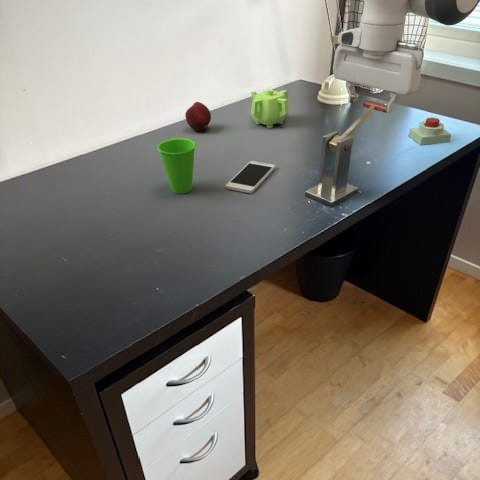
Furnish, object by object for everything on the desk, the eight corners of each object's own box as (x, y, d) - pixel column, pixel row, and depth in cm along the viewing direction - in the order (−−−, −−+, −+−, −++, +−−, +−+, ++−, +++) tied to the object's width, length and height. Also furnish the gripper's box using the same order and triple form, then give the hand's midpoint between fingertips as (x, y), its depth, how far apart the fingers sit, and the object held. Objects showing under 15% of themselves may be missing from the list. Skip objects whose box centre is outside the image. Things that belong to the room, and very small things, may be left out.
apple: (199, 123, 151) (197, 97, 145) (217, 129, 147) (215, 102, 141) (182, 130, 147) (179, 103, 141) (200, 136, 143) (198, 108, 137)
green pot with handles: (287, 116, 154) (288, 83, 147) (289, 129, 145) (290, 95, 139) (250, 116, 154) (250, 84, 148) (250, 130, 146) (250, 96, 139)
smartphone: (225, 188, 117) (225, 185, 116) (250, 163, 127) (250, 160, 126) (251, 193, 114) (251, 190, 114) (275, 168, 125) (275, 164, 124)
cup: (155, 190, 117) (148, 146, 110) (182, 177, 122) (178, 134, 115) (180, 201, 113) (174, 156, 105) (207, 187, 118) (203, 144, 110)
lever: (367, 105, 111) (366, 96, 110) (388, 111, 108) (388, 102, 106) (323, 149, 108) (321, 140, 106) (344, 156, 105) (343, 147, 103)
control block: (436, 132, 140) (439, 118, 137) (449, 141, 135) (453, 127, 132) (408, 136, 139) (411, 122, 136) (420, 145, 134) (423, 130, 131)
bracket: (331, 181, 118) (337, 125, 109) (357, 192, 114) (366, 134, 105) (305, 195, 113) (309, 137, 104) (331, 207, 109) (338, 147, 100)
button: (433, 123, 136) (435, 116, 135) (440, 127, 133) (442, 121, 132) (422, 124, 136) (423, 118, 134) (429, 129, 133) (430, 122, 132)
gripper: (434, 42, 94) (418, 114, 103) (350, 28, 105) (342, 94, 114) (416, 48, 91) (402, 122, 100) (332, 33, 102) (326, 101, 111)
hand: (369, 107), depth 107 cm, fingers open, 8 cm apart
